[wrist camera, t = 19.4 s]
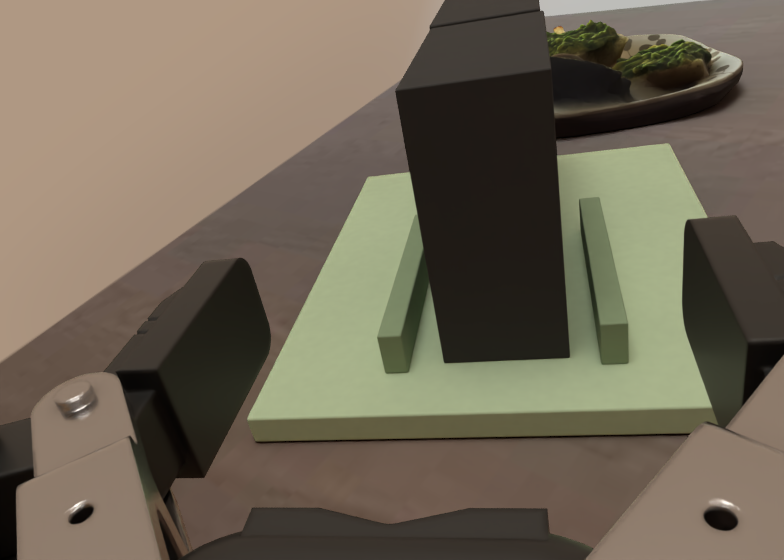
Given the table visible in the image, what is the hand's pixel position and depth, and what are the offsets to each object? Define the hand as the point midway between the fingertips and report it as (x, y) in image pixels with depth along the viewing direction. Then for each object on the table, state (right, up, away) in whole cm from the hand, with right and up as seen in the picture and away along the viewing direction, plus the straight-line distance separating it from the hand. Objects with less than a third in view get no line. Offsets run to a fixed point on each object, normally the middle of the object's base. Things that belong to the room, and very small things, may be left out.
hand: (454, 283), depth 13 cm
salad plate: (+12, +13, +34) cm, 39 cm away
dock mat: (+4, +1, +16) cm, 16 cm away
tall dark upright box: (+3, 0, +12) cm, 13 cm away
